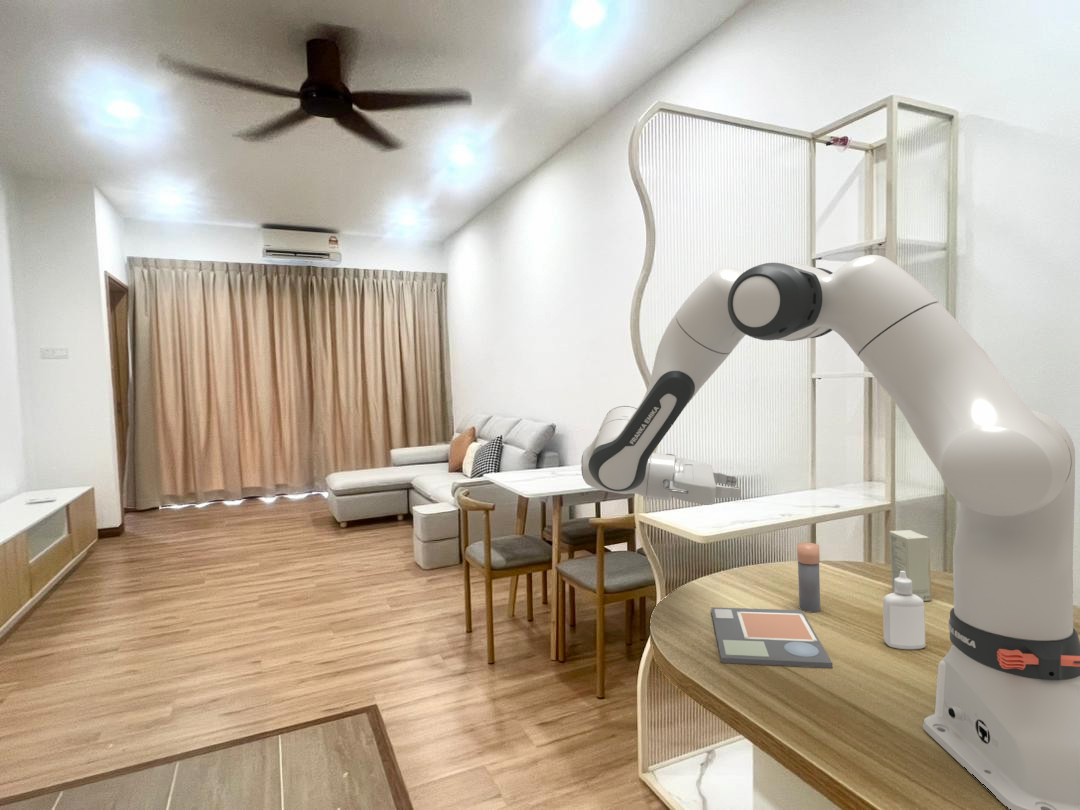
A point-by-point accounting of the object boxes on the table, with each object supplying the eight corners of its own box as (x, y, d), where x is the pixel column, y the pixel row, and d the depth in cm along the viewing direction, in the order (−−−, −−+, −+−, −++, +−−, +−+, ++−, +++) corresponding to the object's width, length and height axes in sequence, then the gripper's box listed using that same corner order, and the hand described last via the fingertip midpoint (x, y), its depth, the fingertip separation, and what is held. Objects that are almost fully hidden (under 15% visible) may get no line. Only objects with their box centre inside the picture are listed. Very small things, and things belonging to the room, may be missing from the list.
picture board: (832, 668, 89) (832, 662, 89) (721, 662, 92) (721, 656, 92) (802, 614, 108) (801, 609, 108) (711, 611, 112) (711, 606, 111)
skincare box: (932, 601, 111) (931, 537, 111) (908, 602, 111) (907, 538, 111) (912, 589, 117) (911, 529, 117) (889, 590, 118) (888, 530, 117)
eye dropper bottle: (923, 655, 91) (922, 578, 91) (882, 646, 95) (880, 572, 94) (926, 644, 95) (925, 570, 94) (886, 635, 98) (884, 564, 98)
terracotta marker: (823, 612, 108) (821, 548, 108) (801, 612, 109) (799, 548, 109) (818, 604, 112) (816, 542, 112) (796, 604, 113) (794, 542, 112)
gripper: (664, 472, 105) (745, 483, 102) (667, 452, 125) (736, 460, 122) (660, 506, 106) (741, 518, 103) (664, 481, 126) (732, 490, 122)
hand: (738, 487), depth 112 cm, fingers open, 8 cm apart
